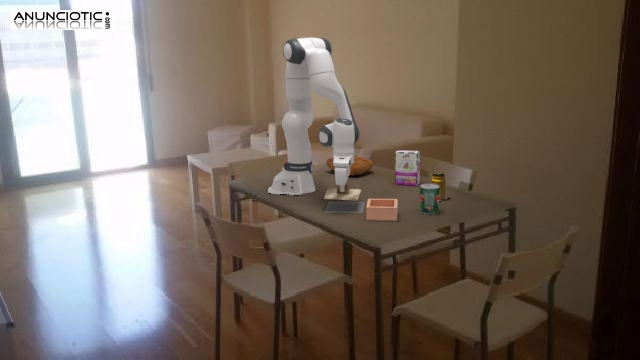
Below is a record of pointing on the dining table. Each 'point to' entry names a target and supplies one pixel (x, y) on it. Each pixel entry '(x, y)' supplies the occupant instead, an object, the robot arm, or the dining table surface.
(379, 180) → the dining table surface
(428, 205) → the canned tomato
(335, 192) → the lid
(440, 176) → the condiment
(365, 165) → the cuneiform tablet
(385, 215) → the rectangular open box
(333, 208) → the mat
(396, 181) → the candy bar box
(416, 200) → the dining table surface
